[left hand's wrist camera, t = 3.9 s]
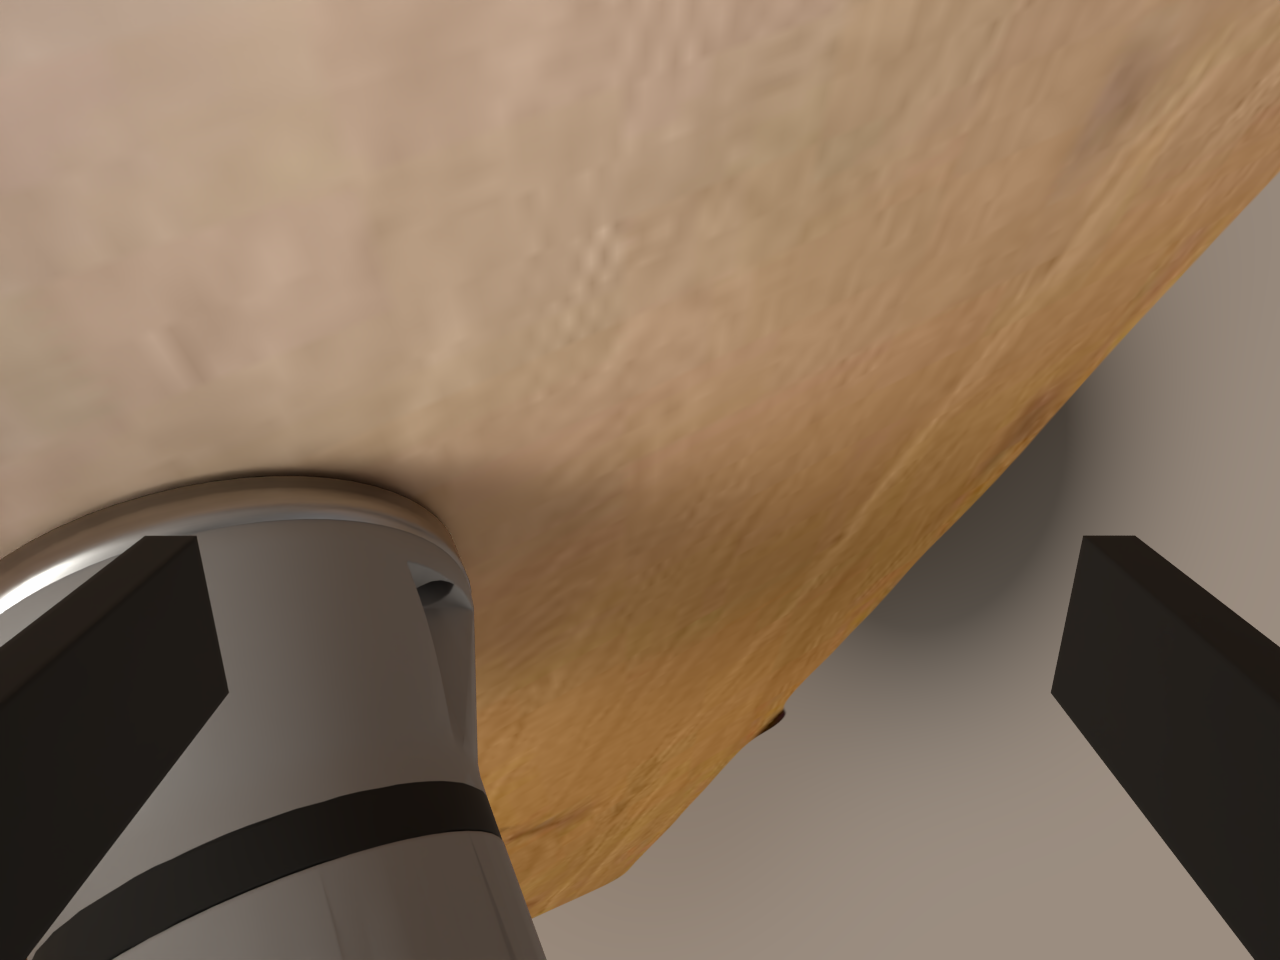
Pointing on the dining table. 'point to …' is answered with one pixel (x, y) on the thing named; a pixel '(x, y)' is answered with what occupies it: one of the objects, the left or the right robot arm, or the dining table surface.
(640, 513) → the dining table surface
